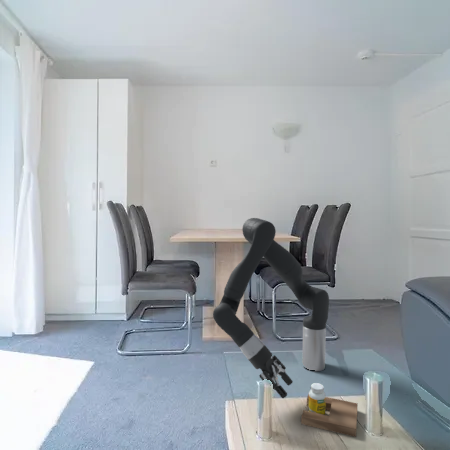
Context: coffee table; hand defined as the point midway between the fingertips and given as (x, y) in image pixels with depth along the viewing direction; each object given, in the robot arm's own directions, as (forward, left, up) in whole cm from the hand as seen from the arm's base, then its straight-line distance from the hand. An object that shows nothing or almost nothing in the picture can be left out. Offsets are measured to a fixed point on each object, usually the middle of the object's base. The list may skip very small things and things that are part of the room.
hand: (288, 389), depth 119 cm
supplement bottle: (0, +9, -6) cm, 12 cm away
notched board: (0, +14, -6) cm, 15 cm away
